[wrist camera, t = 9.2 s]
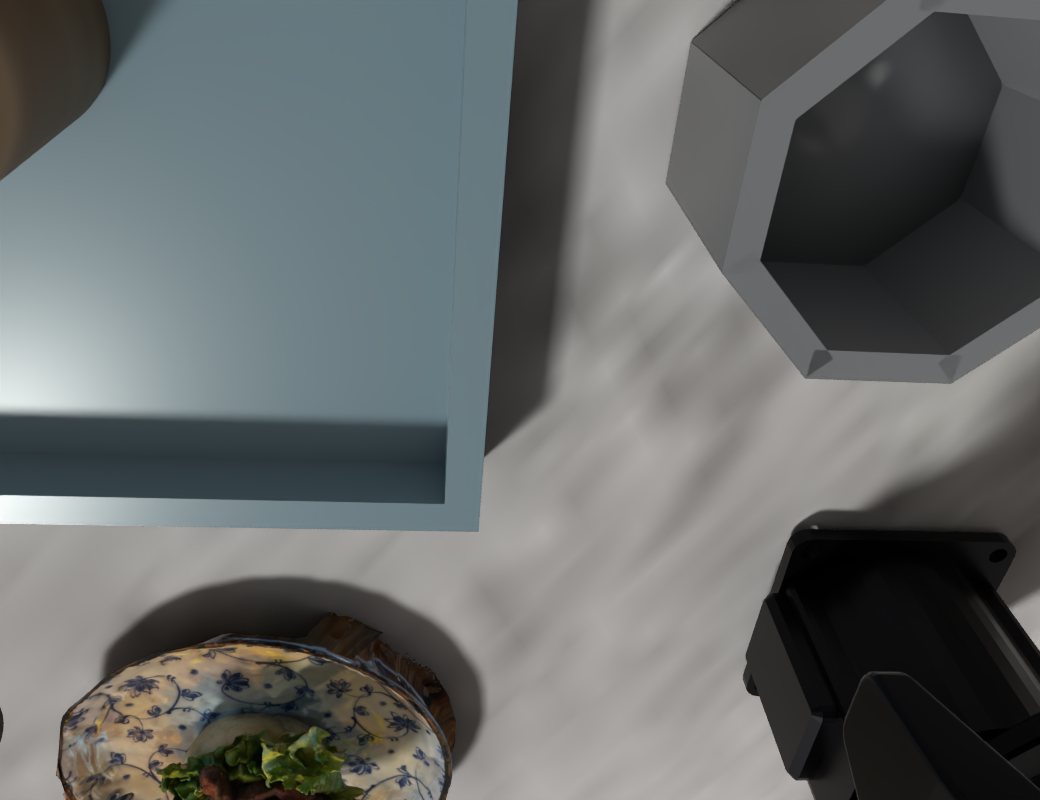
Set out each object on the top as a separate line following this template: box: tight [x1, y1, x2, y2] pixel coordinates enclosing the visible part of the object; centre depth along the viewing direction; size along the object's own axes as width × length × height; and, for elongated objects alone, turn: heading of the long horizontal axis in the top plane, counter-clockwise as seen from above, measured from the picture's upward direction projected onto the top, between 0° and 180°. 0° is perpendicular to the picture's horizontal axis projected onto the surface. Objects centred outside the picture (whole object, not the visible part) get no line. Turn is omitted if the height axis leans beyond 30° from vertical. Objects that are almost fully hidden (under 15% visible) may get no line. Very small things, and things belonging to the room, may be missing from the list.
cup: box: [666, 0, 1040, 384], centre depth 16 cm, size 7×7×4 cm
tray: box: [0, 0, 518, 532], centre depth 15 cm, size 16×20×2 cm
